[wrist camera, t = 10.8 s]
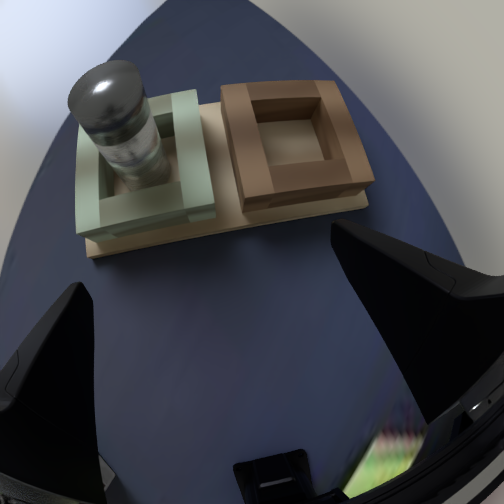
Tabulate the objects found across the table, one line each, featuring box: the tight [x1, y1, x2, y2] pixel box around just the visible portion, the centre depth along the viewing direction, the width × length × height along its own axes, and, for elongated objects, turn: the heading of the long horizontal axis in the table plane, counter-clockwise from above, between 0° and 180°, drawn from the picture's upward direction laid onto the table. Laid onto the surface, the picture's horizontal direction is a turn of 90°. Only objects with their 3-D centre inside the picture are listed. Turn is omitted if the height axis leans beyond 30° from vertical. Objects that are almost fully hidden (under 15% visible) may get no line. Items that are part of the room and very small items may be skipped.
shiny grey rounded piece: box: [68, 60, 171, 192], centre depth 16 cm, size 4×4×11 cm
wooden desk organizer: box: [75, 80, 375, 259], centre depth 21 cm, size 12×24×4 cm, turn 102°
